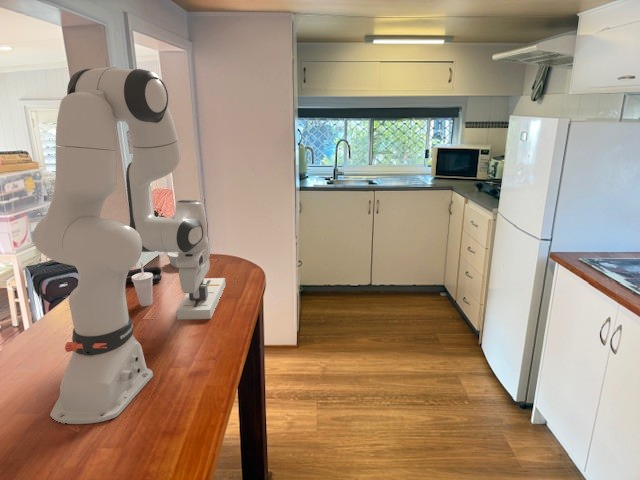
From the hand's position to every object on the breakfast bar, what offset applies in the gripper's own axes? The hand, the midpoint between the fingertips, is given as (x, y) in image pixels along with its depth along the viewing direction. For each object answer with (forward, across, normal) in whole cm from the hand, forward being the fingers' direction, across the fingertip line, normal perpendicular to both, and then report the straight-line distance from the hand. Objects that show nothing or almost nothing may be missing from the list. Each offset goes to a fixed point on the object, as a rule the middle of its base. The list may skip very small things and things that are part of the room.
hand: (198, 294), depth 133 cm
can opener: (+5, -21, -28) cm, 35 cm away
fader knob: (+1, 0, 0) cm, 1 cm away
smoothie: (+5, -4, -18) cm, 19 cm away
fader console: (+5, -5, 0) cm, 7 cm away
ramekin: (+5, -39, -16) cm, 43 cm away
